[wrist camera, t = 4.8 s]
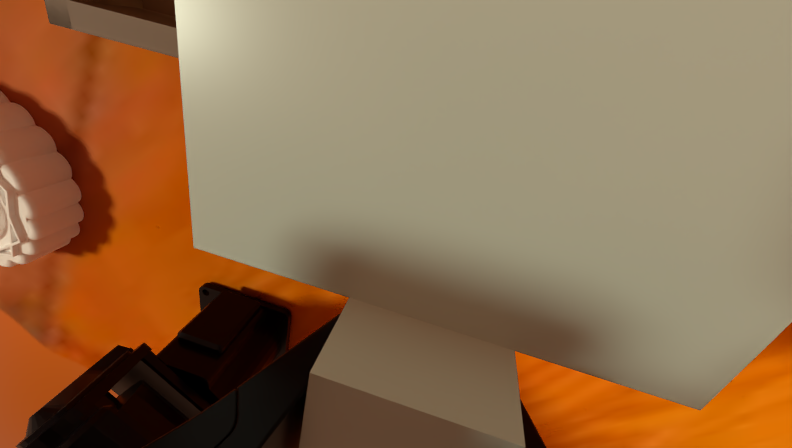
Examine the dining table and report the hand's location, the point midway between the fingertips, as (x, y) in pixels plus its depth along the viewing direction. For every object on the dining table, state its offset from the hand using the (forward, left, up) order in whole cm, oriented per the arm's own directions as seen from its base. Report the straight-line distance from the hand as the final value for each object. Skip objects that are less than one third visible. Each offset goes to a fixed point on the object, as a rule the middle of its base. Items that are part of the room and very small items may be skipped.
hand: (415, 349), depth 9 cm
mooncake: (-6, +29, -10) cm, 31 cm away
